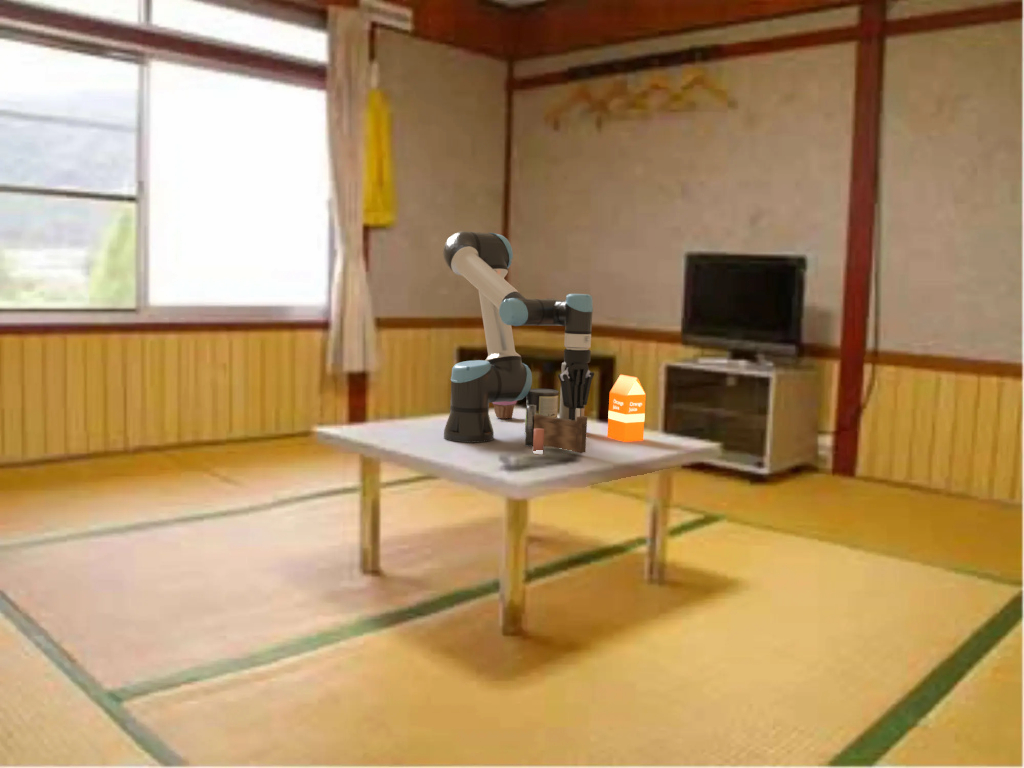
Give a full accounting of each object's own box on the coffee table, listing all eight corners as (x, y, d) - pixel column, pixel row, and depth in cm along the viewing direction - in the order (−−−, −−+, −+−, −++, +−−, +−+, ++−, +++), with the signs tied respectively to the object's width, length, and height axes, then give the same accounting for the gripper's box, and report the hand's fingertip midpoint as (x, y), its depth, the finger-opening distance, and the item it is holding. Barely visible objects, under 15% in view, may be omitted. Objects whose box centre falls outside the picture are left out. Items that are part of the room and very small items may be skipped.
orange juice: (624, 441, 291) (627, 377, 289) (606, 437, 298) (610, 374, 296) (643, 440, 295) (647, 377, 293) (626, 435, 303) (629, 373, 300)
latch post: (533, 454, 265) (534, 430, 264) (531, 452, 268) (532, 428, 267) (544, 454, 265) (545, 430, 264) (542, 452, 268) (543, 428, 267)
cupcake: (520, 419, 327) (521, 391, 326) (498, 420, 322) (499, 391, 321) (507, 415, 334) (509, 388, 333) (486, 416, 330) (487, 388, 329)
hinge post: (526, 446, 277) (527, 405, 276) (524, 444, 280) (526, 404, 278) (535, 446, 277) (537, 406, 276) (533, 444, 280) (535, 404, 279)
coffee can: (521, 435, 294) (523, 391, 293) (528, 430, 304) (530, 387, 303) (553, 438, 292) (555, 393, 291) (559, 433, 302) (561, 389, 300)
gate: (532, 443, 276) (534, 409, 275) (537, 442, 278) (539, 409, 277) (580, 453, 264) (582, 417, 263) (585, 452, 266) (587, 417, 265)
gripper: (571, 350, 259) (568, 434, 262) (602, 348, 268) (599, 430, 271) (552, 348, 264) (549, 431, 267) (582, 346, 273) (579, 426, 276)
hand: (574, 430), depth 269 cm, fingers closed
